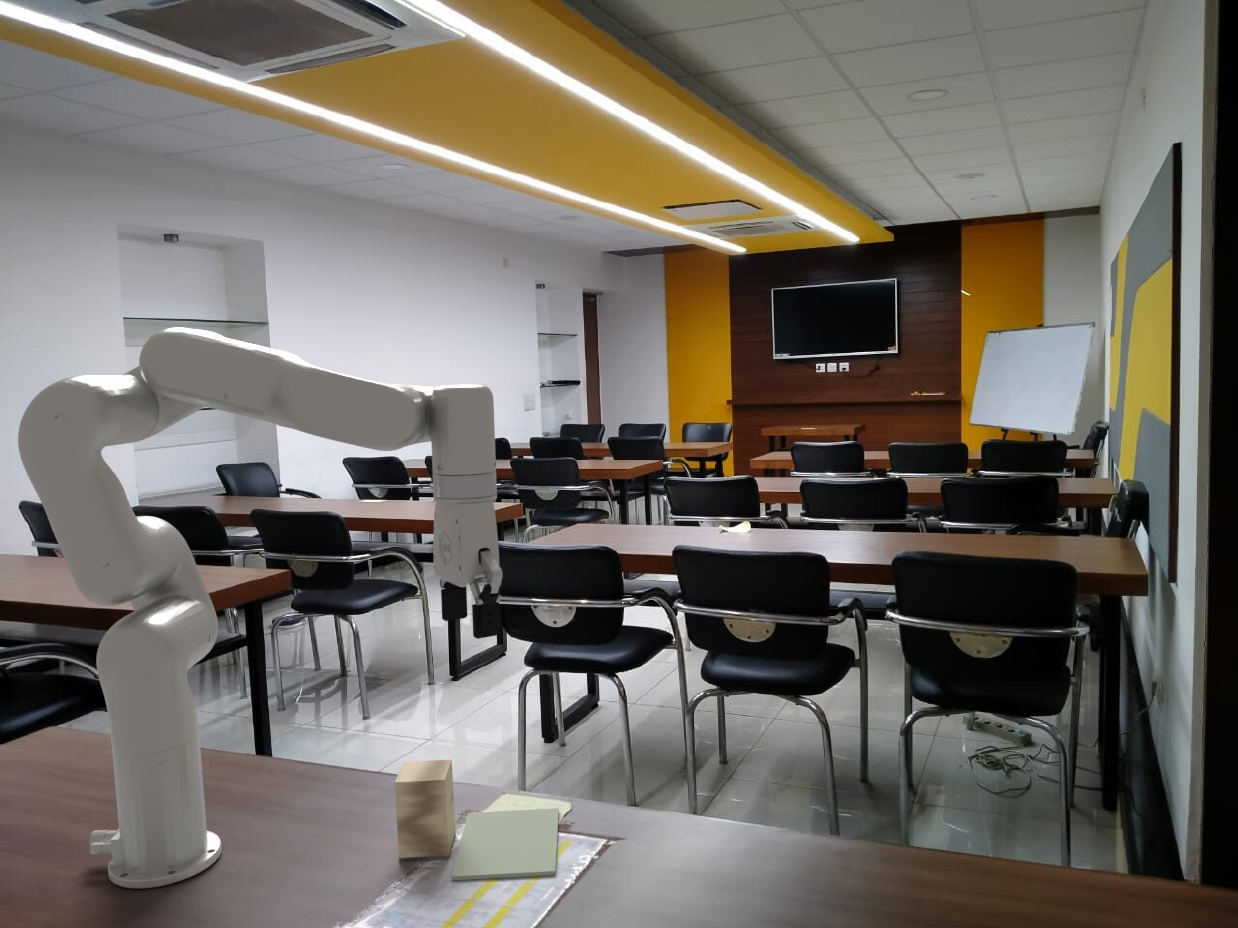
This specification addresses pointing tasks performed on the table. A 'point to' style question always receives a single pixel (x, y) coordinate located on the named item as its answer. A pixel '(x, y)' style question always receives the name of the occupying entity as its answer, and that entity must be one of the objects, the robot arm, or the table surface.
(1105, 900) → the table surface
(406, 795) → the maple block
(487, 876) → the rubber mat
